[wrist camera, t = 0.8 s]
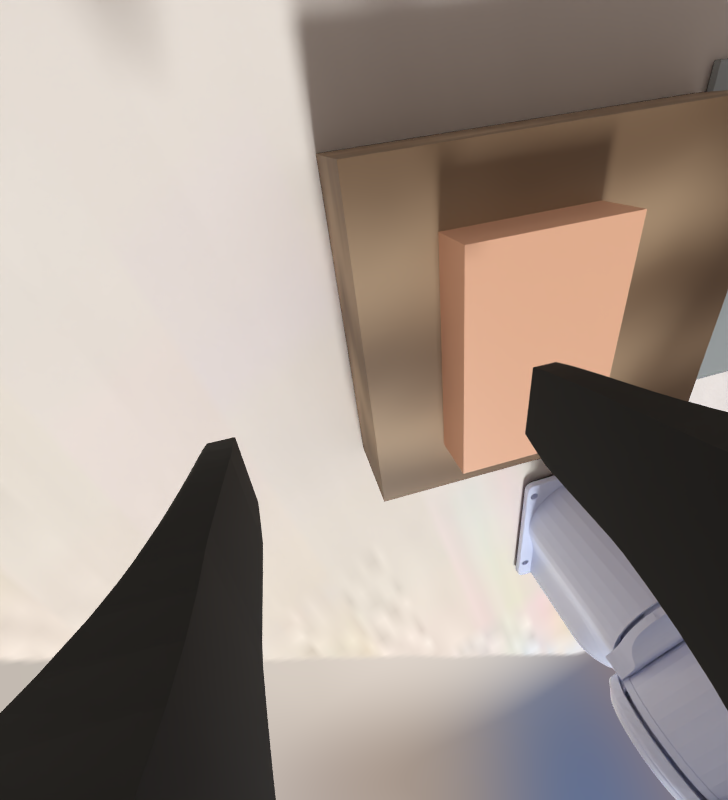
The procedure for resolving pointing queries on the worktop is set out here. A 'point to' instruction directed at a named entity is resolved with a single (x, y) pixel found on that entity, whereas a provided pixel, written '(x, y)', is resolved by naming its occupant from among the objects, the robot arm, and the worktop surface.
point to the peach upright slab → (527, 316)
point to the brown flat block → (506, 198)
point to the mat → (724, 344)
